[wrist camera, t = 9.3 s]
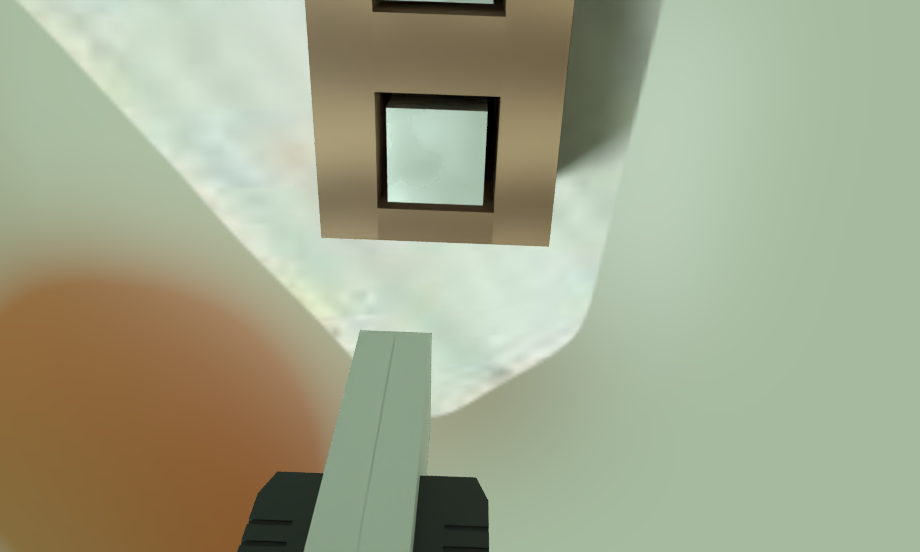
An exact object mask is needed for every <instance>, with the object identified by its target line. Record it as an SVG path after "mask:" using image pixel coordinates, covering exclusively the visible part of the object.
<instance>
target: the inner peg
mask: <svg viewBox="0 0 920 552" xmlns="http://www.w3.org/2000/svg"><path fill="white" fill-rule="evenodd" d="M403 1H430V2H456V3H483V4H493V0H403Z"/></svg>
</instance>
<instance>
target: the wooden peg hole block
mask: <svg viewBox="0 0 920 552" xmlns="http://www.w3.org/2000/svg"><path fill="white" fill-rule="evenodd" d="M305 7H306V21H307V36H308V50H309V65H310V79H311V94H312V108H313V122H314V137H315V151H316V166H317V180H318V195H319V209H320V223H321V238H345V239H370V240H396V241H421V242H447V243H473V244H498V245H524V246H549V241H550V231H551V222H552V212H553V202H554V193H555V183H556V173H557V164H558V154H559V144H560V135H561V125H562V115H563V106H564V96H565V86H566V77H567V67H568V57H569V48H570V38H571V28H572V19H573V9H574V0H493V4H483V3H456V2H430V1H403V0H305ZM392 93H415V94H441V95H467V96H493V97H495V102H494V120H493V138H492V156H491V158H487V157H485V173H484V192H483V205H459V204H433V203H407V202H388V184H387V130H386V107H387V104H388V102H389V99H390V97H391V95H392Z"/></svg>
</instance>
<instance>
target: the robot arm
mask: <svg viewBox="0 0 920 552" xmlns="http://www.w3.org/2000/svg"><path fill="white" fill-rule="evenodd" d="M431 340H432V333H417V332H391V331H365V330H360V333H359V337H358V341H357V345H356V349H355V353H354V357H353V360H352V365H351V368H350V372H349V377H348V380H347V384H346V388H345V392H344V396H343V400H342V403H341V408H340V411H339V415H338V419H337V423H336V427H335V431H334V435H333V439H332V443H331V447H330V450H329V454H328V458H327V462H326V466H325V470H324V473H301V472H277V473H276V474H275V475H274V476H273V477H272V478H271V479H270V480H269V482H268V483H267V484H266V485H265V486H264V487H263V488H262V489H261V491H260V492H259V493H258V495H257V497H256V500H255V503H254V506H253V509H252V512H251V514H250V517H249V523H248V524H247V526H246V529H245V532H244V535H243V537H242V542H241V545H240V546H239V548H238V551H237V552H489V532H488V528H489V526H488V525H489V523H488V499H487V497H486V496H485V494H484V492H483V490H482V488H481V486H480V484H479V482H478V480H477V478H473V477H446V476H426V475H427V463H428V452H429V440H430V410H431Z"/></svg>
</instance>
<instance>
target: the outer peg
mask: <svg viewBox="0 0 920 552" xmlns="http://www.w3.org/2000/svg"><path fill="white" fill-rule="evenodd" d="M487 115H488V107H487V96H467V95H441V94H415V93H392V95H391V97H390V99H389V102H388V104H387V107H386V130H387V184H388V202H407V203H433V204H459V205H483V192H484V173H485V153H486V134H487Z"/></svg>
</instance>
